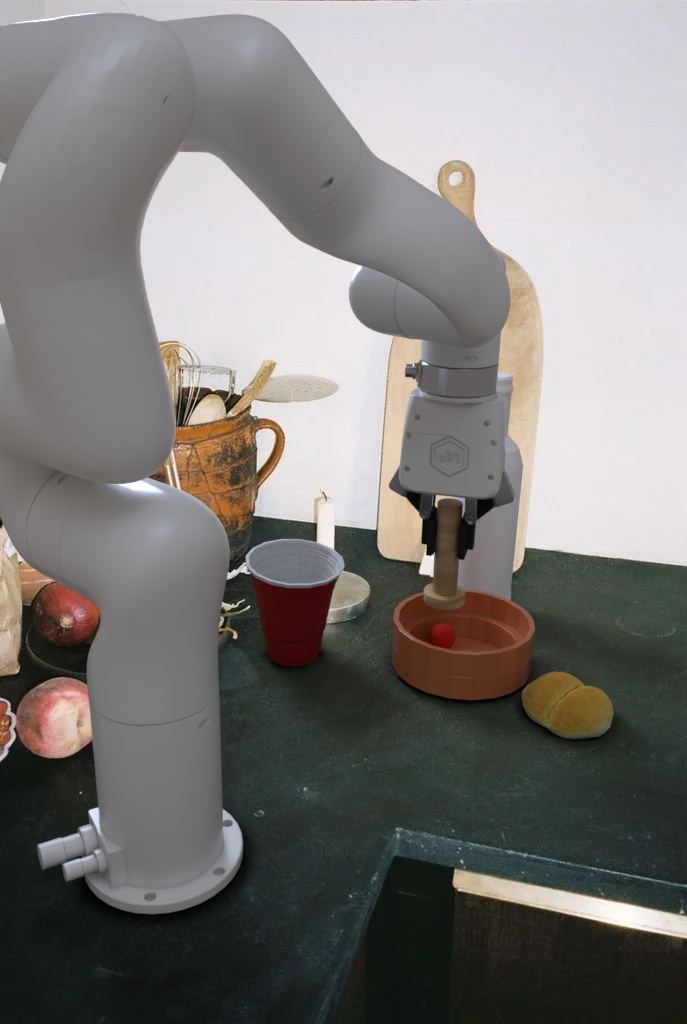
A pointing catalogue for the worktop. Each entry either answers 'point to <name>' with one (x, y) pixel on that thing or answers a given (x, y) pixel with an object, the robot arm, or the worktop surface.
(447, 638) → the tomato
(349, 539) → the worktop surface
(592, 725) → the bread roll
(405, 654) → the bowl
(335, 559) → the plastic cup
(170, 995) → the worktop surface
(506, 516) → the bottle
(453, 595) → the muddler
